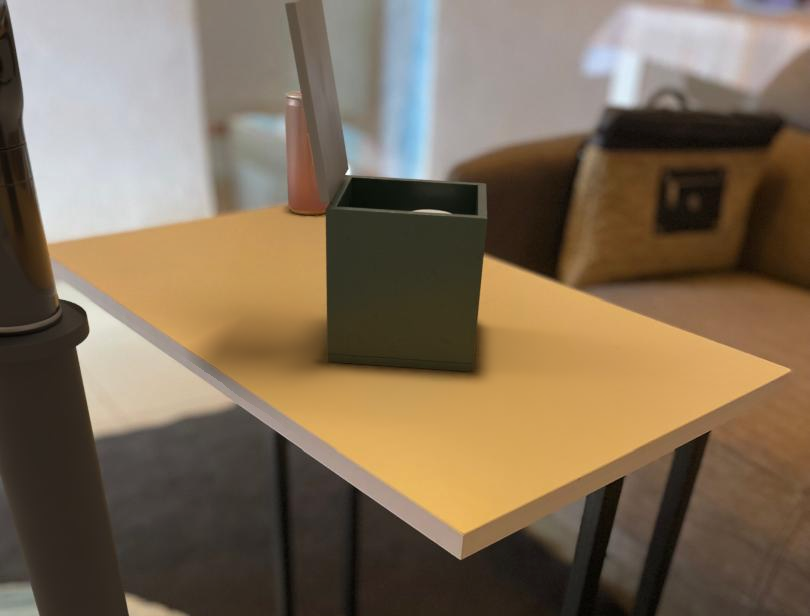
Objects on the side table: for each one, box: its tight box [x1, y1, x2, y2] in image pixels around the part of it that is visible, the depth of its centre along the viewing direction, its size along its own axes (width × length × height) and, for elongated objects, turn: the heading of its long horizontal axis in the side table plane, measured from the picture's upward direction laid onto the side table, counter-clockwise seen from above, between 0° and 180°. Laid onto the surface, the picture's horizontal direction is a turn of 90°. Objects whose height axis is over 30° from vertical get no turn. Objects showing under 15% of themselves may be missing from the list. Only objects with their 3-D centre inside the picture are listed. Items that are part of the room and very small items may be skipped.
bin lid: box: [284, 0, 349, 203], centre depth 71 cm, size 14×13×1 cm
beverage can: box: [284, 90, 329, 216], centre depth 117 cm, size 6×6×15 cm
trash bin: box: [325, 174, 488, 373], centre depth 79 cm, size 14×13×14 cm
